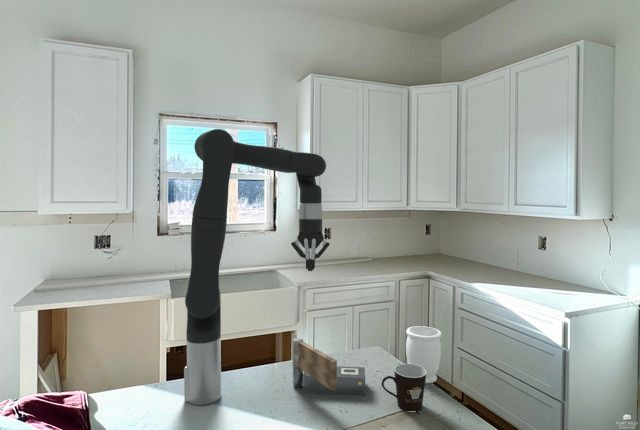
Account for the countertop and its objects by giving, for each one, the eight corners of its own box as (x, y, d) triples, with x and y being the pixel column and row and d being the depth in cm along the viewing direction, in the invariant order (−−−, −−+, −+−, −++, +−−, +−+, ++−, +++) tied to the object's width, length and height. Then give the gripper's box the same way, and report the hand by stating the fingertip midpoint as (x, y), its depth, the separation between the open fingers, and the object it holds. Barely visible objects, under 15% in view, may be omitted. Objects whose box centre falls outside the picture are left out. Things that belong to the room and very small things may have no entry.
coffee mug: (426, 400, 110) (426, 365, 109) (425, 417, 101) (426, 379, 101) (384, 394, 113) (384, 360, 112) (380, 410, 105) (381, 373, 104)
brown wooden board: (290, 364, 118) (290, 339, 117) (299, 362, 120) (299, 337, 119) (329, 391, 102) (329, 362, 101) (339, 388, 104) (339, 359, 103)
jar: (405, 383, 120) (405, 335, 119) (406, 368, 130) (406, 324, 129) (441, 387, 117) (442, 338, 116) (439, 372, 127) (440, 327, 126)
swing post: (292, 388, 116) (292, 368, 116) (293, 383, 119) (293, 364, 119) (302, 388, 116) (302, 368, 116) (303, 383, 119) (303, 364, 119)
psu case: (302, 392, 114) (302, 374, 113) (305, 380, 121) (306, 364, 121) (365, 395, 112) (365, 377, 112) (364, 383, 119) (364, 366, 119)
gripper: (288, 217, 123) (288, 272, 124) (330, 218, 122) (330, 273, 122) (292, 216, 130) (292, 268, 131) (331, 216, 129) (331, 268, 130)
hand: (310, 270), depth 127 cm, fingers closed
